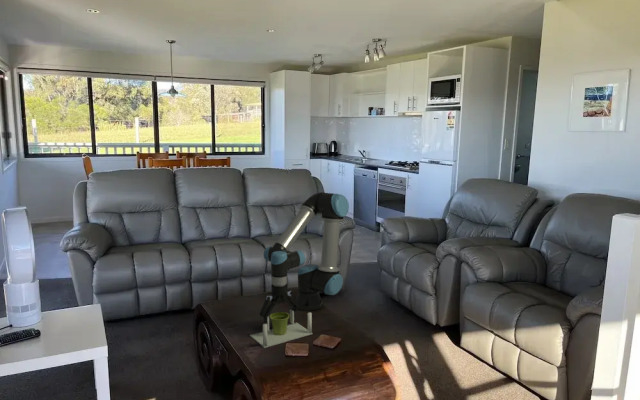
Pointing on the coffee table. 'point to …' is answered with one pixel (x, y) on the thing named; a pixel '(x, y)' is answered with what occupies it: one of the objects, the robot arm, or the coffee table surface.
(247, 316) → the coffee table surface
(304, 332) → the mat
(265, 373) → the coffee table surface
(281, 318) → the plant pot
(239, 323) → the coffee table surface
